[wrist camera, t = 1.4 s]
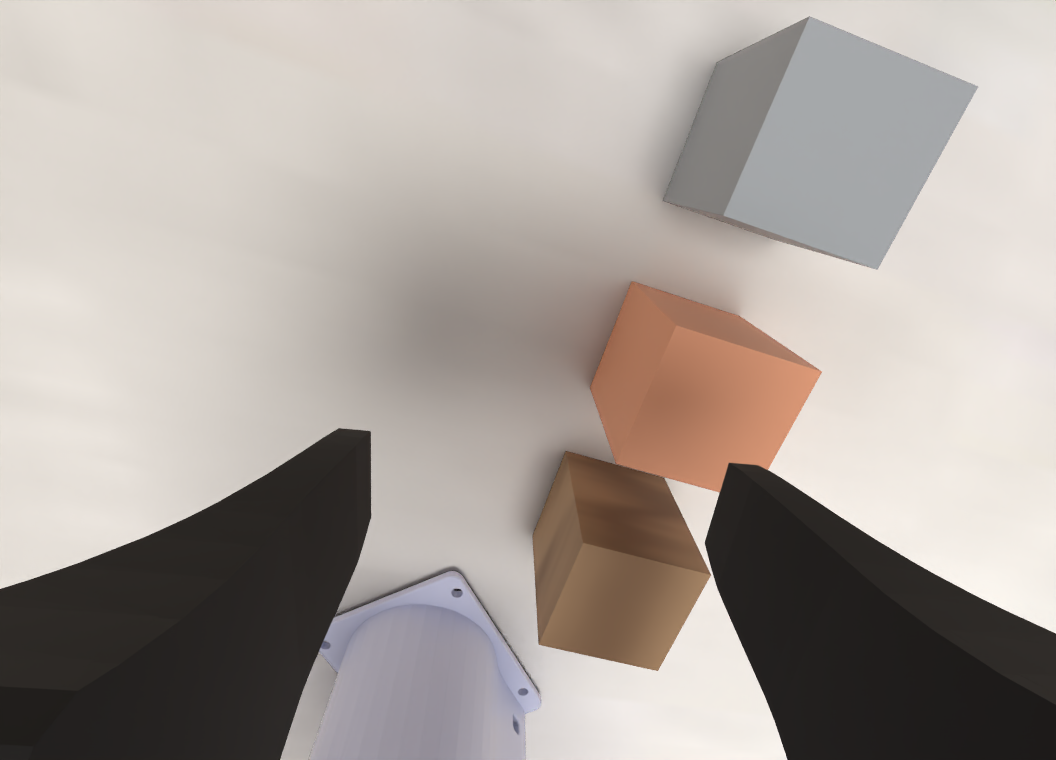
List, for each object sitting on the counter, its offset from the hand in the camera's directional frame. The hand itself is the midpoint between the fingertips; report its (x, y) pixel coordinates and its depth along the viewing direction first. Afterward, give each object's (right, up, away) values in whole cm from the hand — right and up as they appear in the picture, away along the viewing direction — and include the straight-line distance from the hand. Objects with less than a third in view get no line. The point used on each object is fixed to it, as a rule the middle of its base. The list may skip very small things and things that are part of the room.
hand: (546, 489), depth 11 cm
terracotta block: (+5, +3, +10) cm, 12 cm away
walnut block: (+3, -3, +13) cm, 14 cm away
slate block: (+7, +10, +8) cm, 15 cm away
